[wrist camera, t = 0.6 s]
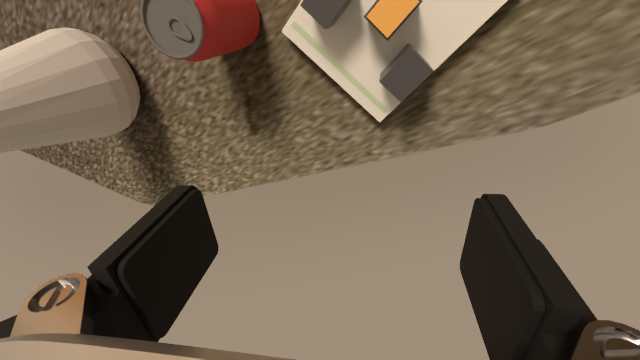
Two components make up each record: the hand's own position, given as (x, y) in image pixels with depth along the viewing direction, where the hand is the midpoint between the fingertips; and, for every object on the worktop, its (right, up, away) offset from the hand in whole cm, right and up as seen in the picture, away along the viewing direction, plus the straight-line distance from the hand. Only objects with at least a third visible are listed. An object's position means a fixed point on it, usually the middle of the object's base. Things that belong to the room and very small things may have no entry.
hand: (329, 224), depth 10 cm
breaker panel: (+7, +19, +20) cm, 29 cm away
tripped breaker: (+7, +18, +18) cm, 27 cm away
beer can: (-10, +21, +24) cm, 33 cm away
